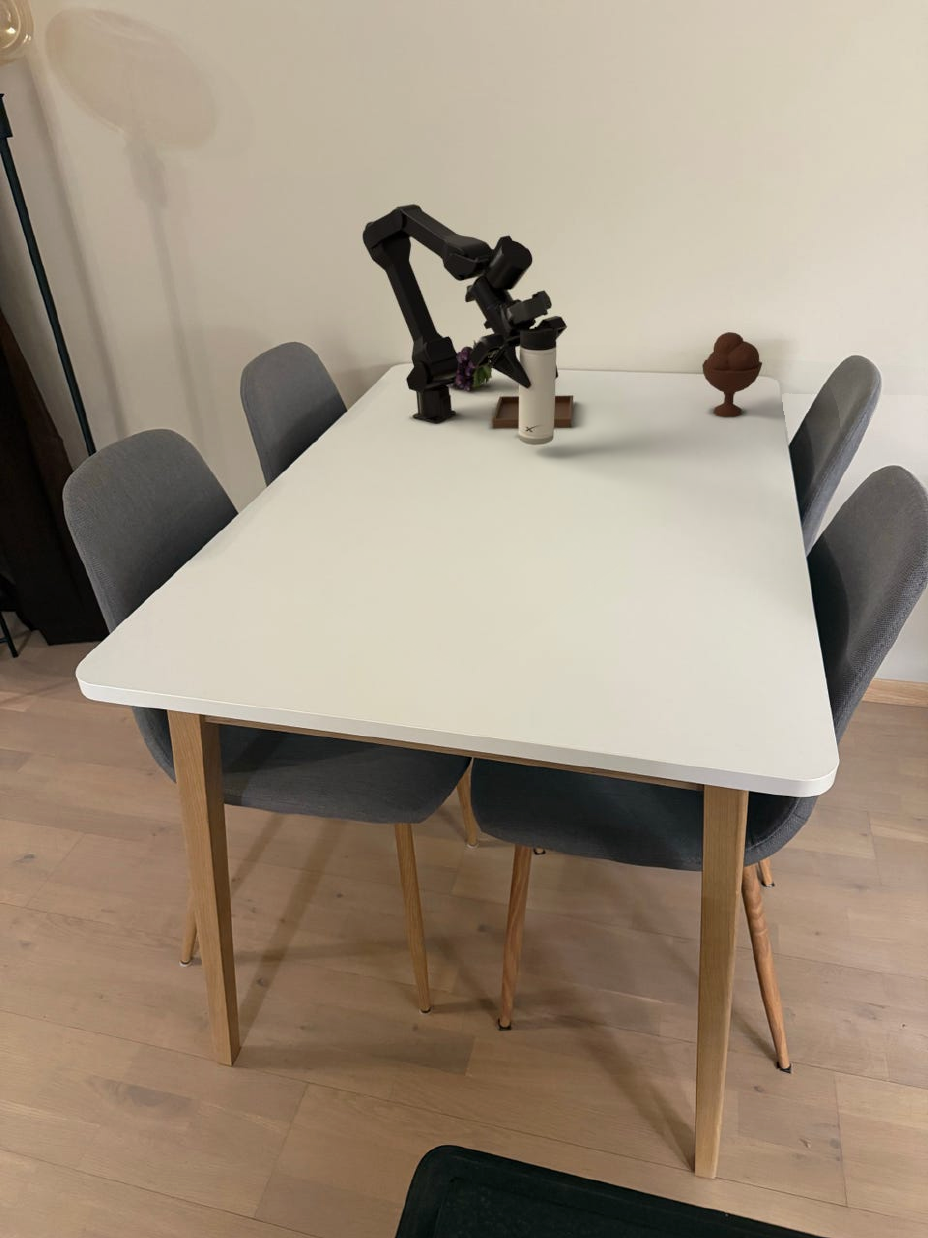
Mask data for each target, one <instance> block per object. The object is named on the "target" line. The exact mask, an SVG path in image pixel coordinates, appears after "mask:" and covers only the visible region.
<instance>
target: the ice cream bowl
mask: <svg viewBox="0 0 928 1238" xmlns="http://www.w3.org/2000/svg"><path fill="white" fill-rule="evenodd" d="M701 365H702V366H701V367H702V373H703V376H704V379H705V380H706V381H707V382H708V384H710V385H711V386H712V387H713V388H715V389H716V390H718V391H720V392H722V393H723V395H724V397H723V403H721V404H718V405H717V406H715V407H714V408H713V412H712V413H713V414H714V415H716V416H719V417H724V418H735V417H738V416H741V415H742V413H743V409H742V408H741V407H739V406H738V405H736V404H734V398H735V397H734V396H735V394H736V393H737V392H741V391H744V390H745V389H747V388H749V387H750V386H751V385H752V384H754V383H755V382H756V380H757V378H758V377H759V374H760V372H761V369H762V366H763V362H762V361H760V353H759V351H758V349H757V347H755V345H753V344H752V343H750V342H748V341H746V340H744V338H743V336H741V335H740V334H739V333H736V332H731V331H730V332H729V331H728V332H724V333H722V334H721V335H720V336H718V337H717V339H716V341H715V343H714V345H713V352H711V353H710V354H709V356H708V357H707V359H704V361H703V363H702V364H701Z"/></svg>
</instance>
